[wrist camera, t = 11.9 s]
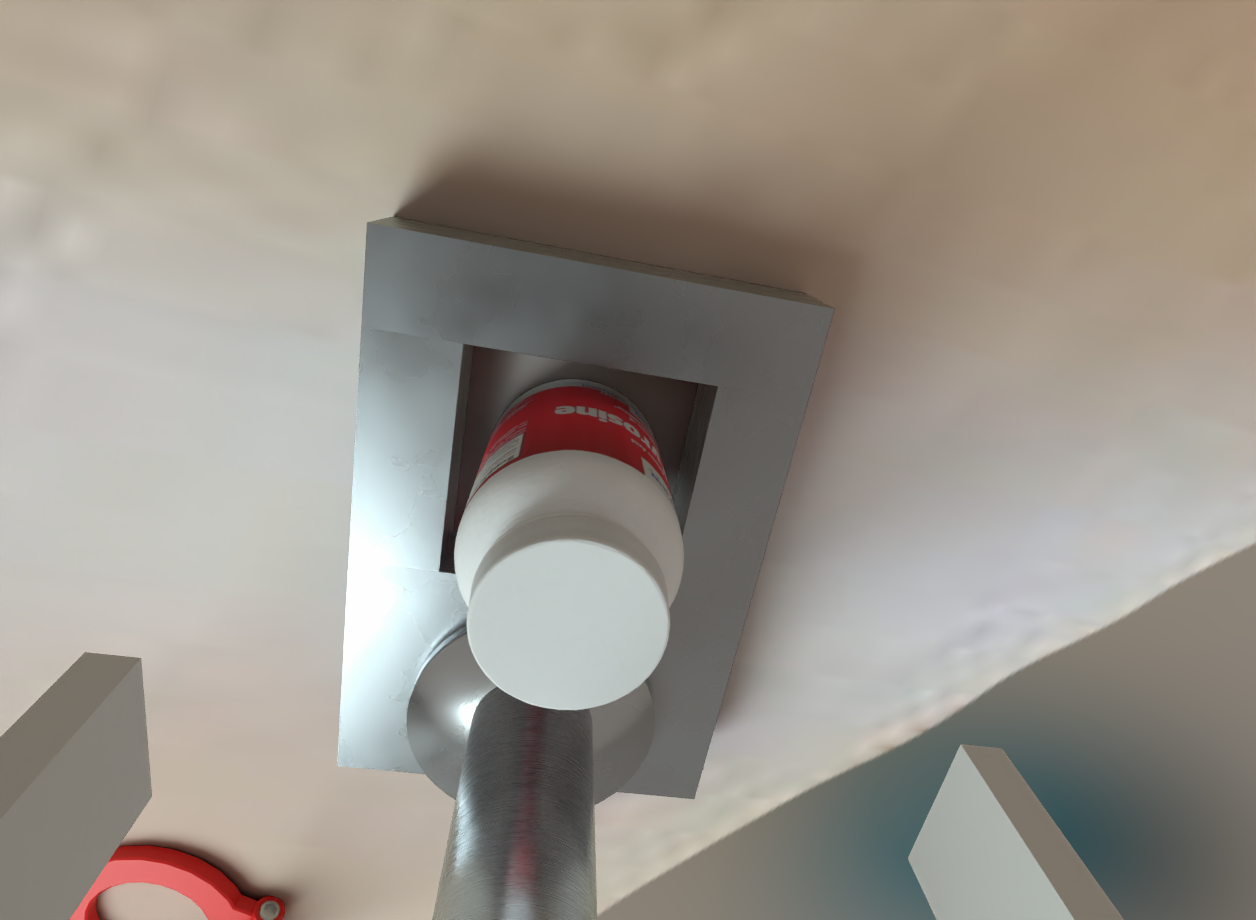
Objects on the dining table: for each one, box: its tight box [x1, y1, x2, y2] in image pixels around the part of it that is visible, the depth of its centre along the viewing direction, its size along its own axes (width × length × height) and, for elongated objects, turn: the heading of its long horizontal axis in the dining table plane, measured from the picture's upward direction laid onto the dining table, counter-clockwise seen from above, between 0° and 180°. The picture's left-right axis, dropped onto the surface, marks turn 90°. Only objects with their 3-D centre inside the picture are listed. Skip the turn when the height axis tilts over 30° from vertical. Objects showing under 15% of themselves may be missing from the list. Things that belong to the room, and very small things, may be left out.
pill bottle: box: [454, 379, 684, 710], centre depth 22 cm, size 6×6×11 cm
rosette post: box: [337, 217, 834, 920], centre depth 17 cm, size 21×14×23 cm, turn 169°
